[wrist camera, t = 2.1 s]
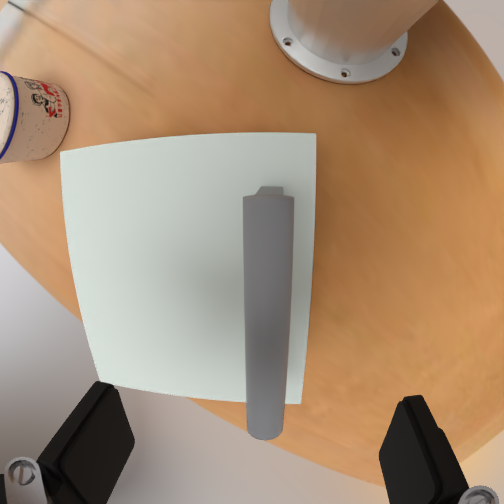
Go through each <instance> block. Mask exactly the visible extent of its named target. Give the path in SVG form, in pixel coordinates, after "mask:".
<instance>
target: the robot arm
mask: <svg viewBox="0 0 504 504" xmlns="http://www.w3.org/2000/svg"><path fill="white" fill-rule="evenodd" d="M438 1H439V0H272V2H271V5H270V13H269V20H270V27H271V31H272V34H273V37H274V39H275V41H276V43H277V45H278V47H279V48H280V49H281V50H282V52H283V53H284V54H285V56H286V57H287V58H289V59H290V60H291V61H292V62H293V63H294V64H295V65H296V66H298V67H299V68H301V69H303V70H304V71H306V72H307V73H309V74H311V75H314V76H316V77H318V78H320V79H323V80H327V81H331V82H334V83H342V84H361V83H366V82H371V81H374V80H376V79H378V78H381V77H383V76H384V75H386V74H387V73H389V72H390V71H391V70H392V69H393V68H395V67H396V66H397V65H398V64H399V62H400V61H401V59H402V58H403V56H404V54H405V51H406V48H407V41H408V32H407V30H408V29H409V28H410V27H412V26H413V25H414V24H415V23H416V22H417V21H418V20H419V19H420V18H421V17H422V16H423V15H424V14H425V13H426V12H427V11H429V10H430V9H431V8H432V7H433V6H434V5H435V4H436V3H437V2H438ZM286 43H290V44H291V45H290V46H286V45H285V44H286ZM392 53H394V54H395V56H394V55H393V54H392ZM342 73H345V74H346V76H347V77H343V76H342V75H341V74H342ZM134 443H135V439H134V436H133V433H132V430H131V428H130V425H129V422H128V419H127V417H126V414H125V411H124V408H123V405H122V402H121V399H120V395H119V392H118V390H117V389H115V388H114V386H113V385H112V384H110V383H105V382H100V381H96V382H95V383H94V384H93V385H92V387H91V388H90V389H89V391H88V392H87V393H86V394H85V396H84V397H83V398H82V400H81V401H80V402H79V403H78V405H77V406H76V408H75V409H74V410H73V411H72V413H71V414H70V415H69V417H68V418H67V419H66V421H65V422H64V423H63V425H62V426H61V427H60V429H59V430H58V432H57V433H56V434H55V435H54V437H53V438H52V440H51V441H50V442H49V444H48V445H47V447H46V448H45V449H44V451H43V452H42V453H41V455H40V456H39V457H38V460H37V461H36V462H35V461H34V460H33V459H31V458H28V457H18V458H14V459H13V460H11V461H10V462H9V463H8V464H7V465H6V468H5V470H4V474H0V504H106V503H107V501H108V499H109V497H110V495H111V493H112V491H113V489H114V486H115V484H116V482H117V480H118V478H119V476H120V474H121V472H122V470H123V468H124V465H125V464H126V462H127V460H128V457H129V456H130V453H131V451H132V449H133V447H134ZM379 461H380V465H381V469H382V473H383V477H384V481H385V485H386V489H387V493H388V498H389V502H390V504H499V499H498V496H497V494H496V493H495V492H494V491H493V490H492V489H490V488H489V487H486V486H474V487H472V488H469V486H468V484H467V481H466V479H465V477H464V474H463V472H462V470H461V468H460V465H459V463H458V461H457V459H456V456H455V454H454V452H453V450H452V448H451V446H450V444H449V442H448V439H447V437H446V435H445V433H444V432H443V430H442V429H440V428H438V426H437V424H436V422H435V420H434V418H433V416H432V414H431V412H430V410H429V408H428V406H427V404H426V402H425V400H424V398H423V396H422V395H414V396H407V397H404V398H403V400H402V401H400V402H399V403H398V404H397V407H396V410H395V413H394V416H393V418H392V421H391V424H390V426H389V429H388V431H387V434H386V436H385V439H384V441H383V444H382V446H381V449H380V451H379Z"/></svg>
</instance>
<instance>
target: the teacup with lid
mask: <svg viewBox="0 0 504 504" xmlns="http://www.w3.org/2000/svg"><path fill="white" fill-rule="evenodd" d="M68 122H69V104H68V100H67V97H66V95H65V93H64V91H63V90H62V89H61V88H60V87H58V86H57V85H54V84H50V83H46V82H41V81H37V80H32V79H27V78H22V77H16V76H11V75H10V74H9V73H7V72H3V71H0V164H1V163H9V162H18V161H27V160H38V159H43V158H45V157H47V156H49V155H50V154H52V153H53V152H54V151H55V150H56V149H57V147H58V146H59V145H60V143H61V141H62V140H63V138H64V135H65V133H66V130H67V126H68Z"/></svg>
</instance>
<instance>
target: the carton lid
mask: <svg viewBox="0 0 504 504" xmlns="http://www.w3.org/2000/svg"><path fill="white" fill-rule="evenodd" d="M60 163H61V183H62V196H63V208H64V217H65V226H66V234H67V241H68V248H69V255H70V261H71V267H72V272H73V278H74V283H75V288H76V293H77V298H78V302H79V307H80V311H81V315H82V319H83V323H84V327H85V331H86V335H87V339H88V342H89V346H90V349H91V352H92V356H93V359H94V363H95V366H96V369H97V372H98V375H99V378H100V382H105V383H110V384H113V385H118V386H123V387H128V388H133V389H138V390H144V391H150V392H157V393H163V394H170V395H177V396H184V397H192V398H201V399H211V400H222V401H234V402H246V408H247V430H248V433H249V434H250V435H251V436H252V437H254V438H256V439H259V440H271V439H274V438H276V437H278V436H279V435H280V434H281V432H282V430H283V420H284V408H285V404H301V397H302V388H303V379H304V369H305V360H306V349H307V338H308V327H309V314H310V301H311V286H312V270H313V251H314V228H315V196H316V133H282V132H255V133H219V134H199V135H184V136H172V137H160V138H150V139H141V140H133V141H125V142H117V143H110V144H103V145H96V146H90V147H84V148H78V149H73V150H67V151H62V152H60Z"/></svg>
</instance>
